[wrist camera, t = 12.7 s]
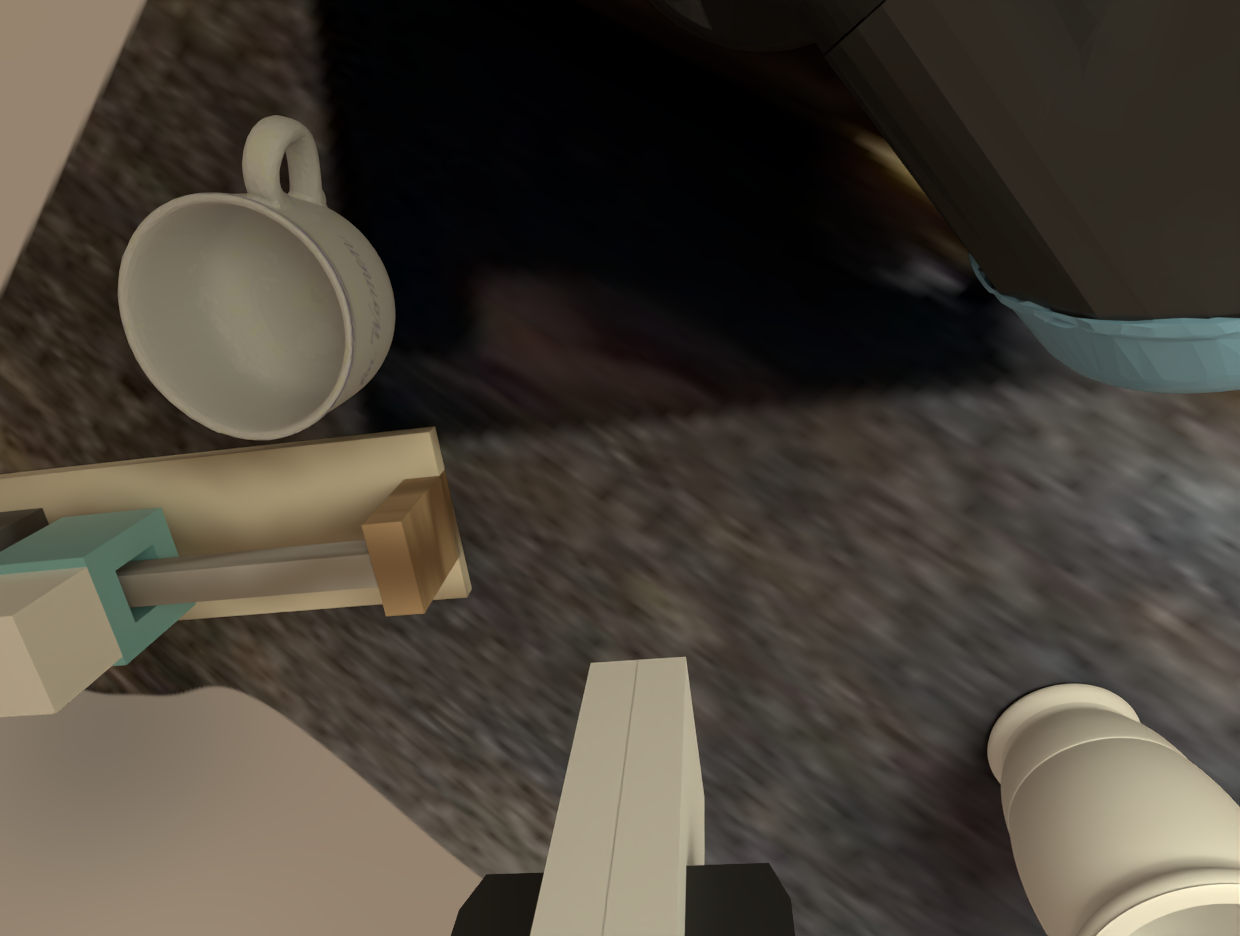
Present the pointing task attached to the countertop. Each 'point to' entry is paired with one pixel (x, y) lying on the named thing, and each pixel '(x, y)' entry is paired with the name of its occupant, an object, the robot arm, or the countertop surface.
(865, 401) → the countertop surface
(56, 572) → the sleeve
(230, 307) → the teacup
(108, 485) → the rail
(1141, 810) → the jar
